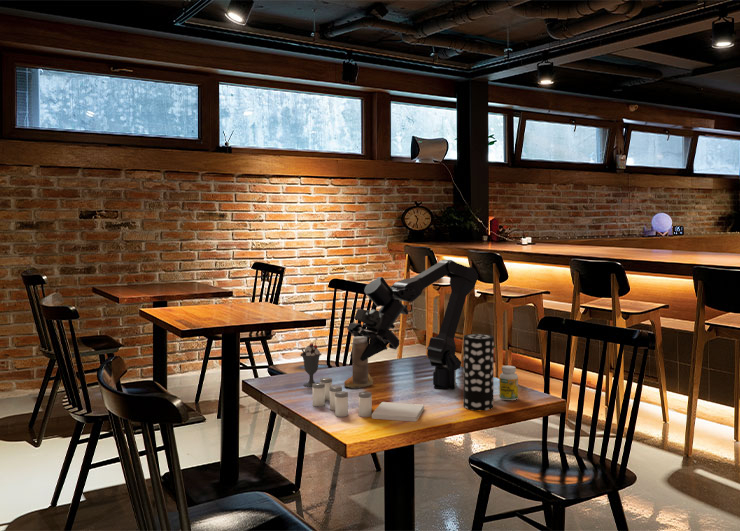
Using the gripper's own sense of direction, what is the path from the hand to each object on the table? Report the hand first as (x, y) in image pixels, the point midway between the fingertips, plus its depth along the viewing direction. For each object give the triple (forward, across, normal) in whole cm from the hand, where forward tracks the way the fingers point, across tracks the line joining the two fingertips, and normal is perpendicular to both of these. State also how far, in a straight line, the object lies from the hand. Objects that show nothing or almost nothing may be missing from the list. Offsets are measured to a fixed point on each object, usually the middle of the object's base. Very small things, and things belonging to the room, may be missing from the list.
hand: (356, 358), depth 184 cm
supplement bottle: (-18, +22, +38) cm, 47 cm away
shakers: (+14, -1, +5) cm, 15 cm away
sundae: (+8, -28, +11) cm, 31 cm away
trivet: (+6, +14, +13) cm, 20 cm away
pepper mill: (+4, 0, +6) cm, 7 cm away
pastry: (0, -18, +20) cm, 27 cm away
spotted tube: (-9, +22, +28) cm, 37 cm away
